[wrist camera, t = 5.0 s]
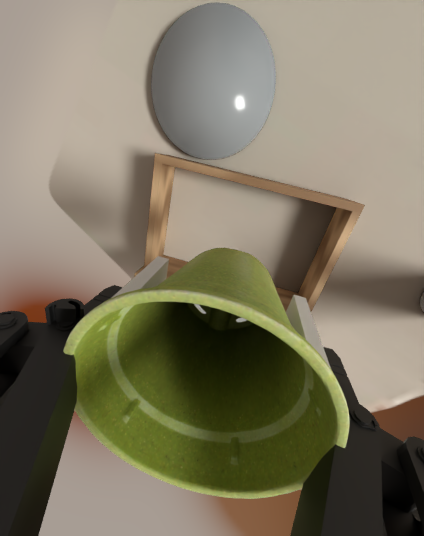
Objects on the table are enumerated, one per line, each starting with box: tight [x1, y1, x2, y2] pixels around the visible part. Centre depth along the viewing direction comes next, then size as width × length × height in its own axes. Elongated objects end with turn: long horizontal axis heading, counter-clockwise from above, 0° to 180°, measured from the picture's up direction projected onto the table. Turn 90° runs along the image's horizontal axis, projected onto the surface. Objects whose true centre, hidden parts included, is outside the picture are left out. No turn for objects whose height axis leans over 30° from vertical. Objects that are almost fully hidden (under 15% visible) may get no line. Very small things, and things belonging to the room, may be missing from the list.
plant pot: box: [63, 248, 350, 499], centre depth 11 cm, size 9×9×9 cm
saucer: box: [151, 3, 276, 160], centre depth 24 cm, size 13×13×1 cm
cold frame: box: [134, 153, 365, 312], centre depth 27 cm, size 14×22×7 cm, turn 77°
